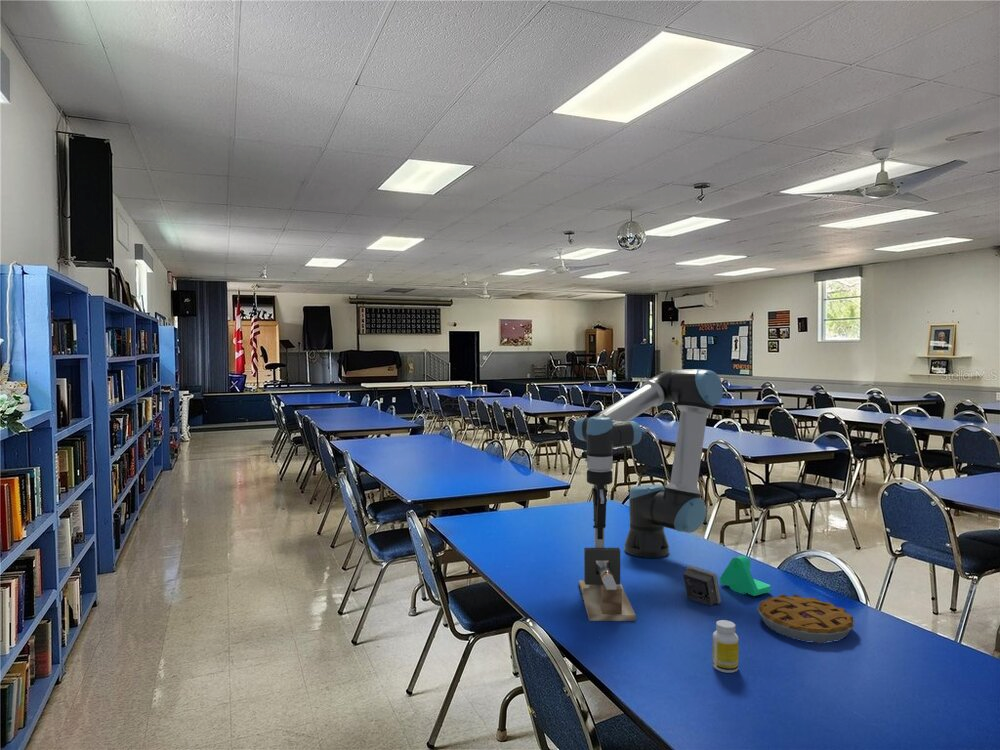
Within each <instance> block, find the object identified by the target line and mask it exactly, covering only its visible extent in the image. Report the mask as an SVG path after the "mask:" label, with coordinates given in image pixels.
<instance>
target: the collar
mask: <svg viewBox="0 0 1000 750" xmlns="http://www.w3.org/2000/svg"><path fill="white" fill-rule="evenodd" d="M583 549H584V552H583V553H584V555H583V556H584V557H583V558H584V559H583V560H584V566H583V568H584V569H583V571H584V572H583V574H584V579H583V580H584V582H585V585H604V584H603V582H602V580H601V576H600V573H599V572H596V561H609V570H610V572H611V574H612V575H613V577H614V581H615V583H616V585H620V583H621V549H620V547H604V548H595V547H584V548H583Z"/></svg>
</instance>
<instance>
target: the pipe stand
mask: <svg viewBox="0 0 1000 750" xmlns="http://www.w3.org/2000/svg"><path fill="white" fill-rule="evenodd" d="M606 563H607V565H608V567H609V561H606ZM596 572H599V571H598V568H597V566H596ZM579 586H580V587H579ZM578 587H579V590H580V593H582V594H581V597H582V600H584V601H583V603H584V604H583V605H584V607H585V611H586V614H587V617H588V621H590V622H591V621H593V622H596V621H597V622H608V621H609V622H610V621H612V622H613V621H614V622H633V621H634V622H635V621H637V615H636V613H635V610H634V608H633V606H632V604H631V602H630V600H629V598H628V596H627V594H626V592H625V589H624V588H623V585H622V583H621V582H620V585H617V587H618V590H616V591H615V590H607V591H606V587H605V585H585V582H584V579H581V580H580V579H579V580H578ZM617 591H618V592H617ZM611 592H612V593H611ZM615 593H616V594H615ZM609 594H610V595H609ZM612 594H613V595H612Z"/></svg>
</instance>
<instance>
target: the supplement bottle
mask: <svg viewBox="0 0 1000 750" xmlns="http://www.w3.org/2000/svg"><path fill="white" fill-rule="evenodd" d="M715 623H716V624H715V628H716V629H715V631H713V633H712V666H713V668H714V669H716V671H719V672H722V673H726V674H727V673H728V674H730V673H735V672H738V670H739V657H740V656H739V650H740V649H739V645H740V644H739V642H740V641H739V636H738V634H737V633H736V624H735V623H734V622H733V621H730V620H726V619H721V620H717V621H716V622H715Z"/></svg>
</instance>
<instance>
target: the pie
mask: <svg viewBox="0 0 1000 750" xmlns="http://www.w3.org/2000/svg"><path fill="white" fill-rule="evenodd" d="M756 610H757V612H758V613H759V615H760V616H761V619H762V621H763V622H764V624H765V626H766V627H767V626H768V627H767V628H769V627H770V628H772V629H773V630H772V629H771V630H772V631H774V630H775V631H776V632H775V631H774V632H775V633H777V632H779V633H781V634H784V635H786V636H789V637H791V638H795V639H800V640H804V641H813V642H827V641H834V640H839V639H841V638H843V637H845V636H846V637H847V636H848V634H849V633H850V631H851V630H853V629H854V626H855V624H856V621H855V620H854V617H853V616H852V614H850V613H847V611H846V609H845V608H843V607H841V606H840V607H837V606H835V605H834V604H833V603H830V602H829V601H821V600H819V599H818V598H816V597H812V596H811V597H804V596H802V595H798V594H793V595H792V596H789V595H787V594H779V595H778V596H776V597H775V596H768V597H766V600H763V599H762V600H761V601H760V604H759V605H758V606H757V608H756ZM770 628H769V629H770ZM781 634H780V635H781ZM784 635H783V636H784ZM786 636H785V637H786ZM789 637H788V638H789ZM791 638H790V639H791ZM839 641H840V640H839Z"/></svg>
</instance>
